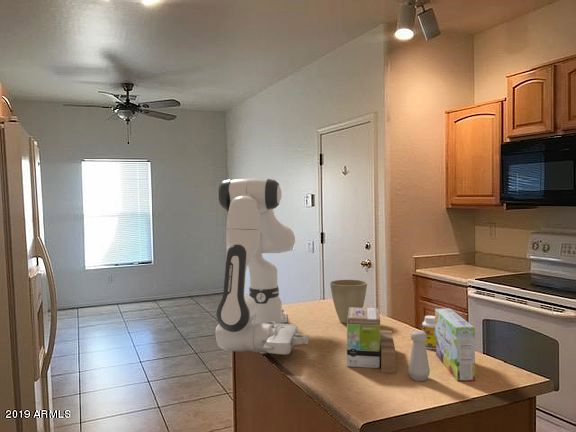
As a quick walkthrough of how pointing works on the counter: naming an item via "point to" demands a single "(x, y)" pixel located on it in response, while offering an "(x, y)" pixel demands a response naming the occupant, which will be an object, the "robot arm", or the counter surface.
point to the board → (387, 352)
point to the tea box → (363, 337)
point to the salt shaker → (419, 357)
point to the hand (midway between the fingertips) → (308, 339)
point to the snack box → (455, 344)
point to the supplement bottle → (429, 332)
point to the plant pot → (347, 296)
